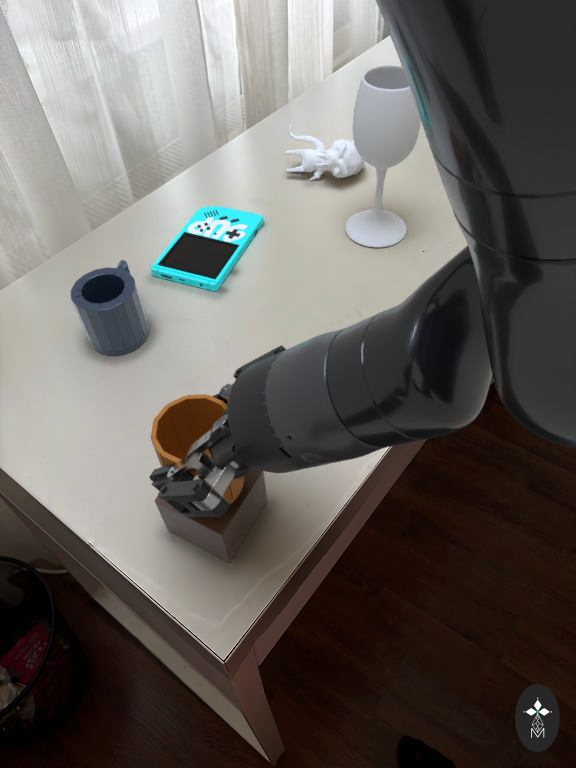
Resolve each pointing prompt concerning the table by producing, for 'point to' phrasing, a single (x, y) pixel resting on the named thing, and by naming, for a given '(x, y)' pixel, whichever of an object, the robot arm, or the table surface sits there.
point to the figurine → (327, 157)
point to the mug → (111, 310)
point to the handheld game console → (208, 247)
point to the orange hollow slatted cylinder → (188, 432)
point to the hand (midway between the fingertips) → (182, 446)
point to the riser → (220, 520)
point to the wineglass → (382, 146)
